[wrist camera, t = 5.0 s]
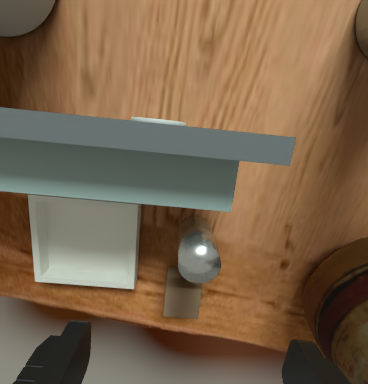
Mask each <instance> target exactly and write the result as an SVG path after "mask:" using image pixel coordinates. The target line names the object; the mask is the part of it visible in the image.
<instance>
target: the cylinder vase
mask: <svg viewBox="0 0 368 384" xmlns="http://www.w3.org/2000/svg"><path fill="white" fill-rule="evenodd" d="M54 3H55V0H0V36H6V37H10V36H19V35H23V34H26V33H28V32H30V31H32V30H34V29H35V28H37V27H38V26H39V25H40V24H41V23H42V22H43V21H44V20H45V19H46V18H47V16H48V15H49V13H50V12H51V10H52V8H53V5H54Z"/></svg>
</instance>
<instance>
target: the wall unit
mask: <svg viewBox="0 0 368 384" xmlns="http://www.w3.org/2000/svg"><path fill="white" fill-rule="evenodd" d="M295 140H296V138H295V137H285V136H275V135H266V134H256V133H246V132H236V131H227V130H217V129H207V128H198V127H188V126H186V123H184V122H178V121H170V120H162V119H152V118H141V117H131V121H129V120H120V119H110V118H100V117H91V116H81V115H71V114H61V113H52V112H42V111H32V110H22V109H13V108H3V107H0V191H5V192H17V193H28V194H39V195H50V196H61V197H72V198H83V199H94V200H105V201H116V202H127V203H138V204H149V205H160V206H171V207H182V208H193V209H204V210H216V211H227V212H231V209H232V203H233V196H234V190H235V184H236V178H237V172H238V166H239V161H247V162H257V163H268V164H278V165H288V166H290V162H291V158H292V153H293V149H294V144H295Z"/></svg>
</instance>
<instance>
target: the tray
mask: <svg viewBox="0 0 368 384" xmlns="http://www.w3.org/2000/svg"><path fill="white" fill-rule="evenodd" d="M28 204H29V216H30V227H31V239H32V251H33V262H34V274H35V282H47V283H60V284H73V285H86V286H99V287H112V288H125V289H134V287H135V284H136V281H137V277H138V258H139V238H140V219H141V204H138V203H127V202H116V201H105V200H94V199H83V198H72V197H61V196H50V195H39V194H28Z"/></svg>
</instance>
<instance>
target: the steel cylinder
mask: <svg viewBox="0 0 368 384" xmlns="http://www.w3.org/2000/svg"><path fill="white" fill-rule="evenodd" d="M220 268H221V260H220V257H219V253H218V250H217V247H216V243H215V240H214V237H213V233H212V230H211V227H210V224H209V223H208V221H207V220H205V219H204V218H202V217H198V216H192V217H189V218H187V219H185V220H184V221H183V222H182V223H181V225H180V228H179V248H178V269H179V272H180V274H181V275H182V276H183V277H184V278H185V279H186V280H188V281H190V282H192V283H206V282H208V281H210V280H212V279H213V278H215V277H216V276H217V274H218V273H219V271H220Z"/></svg>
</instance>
